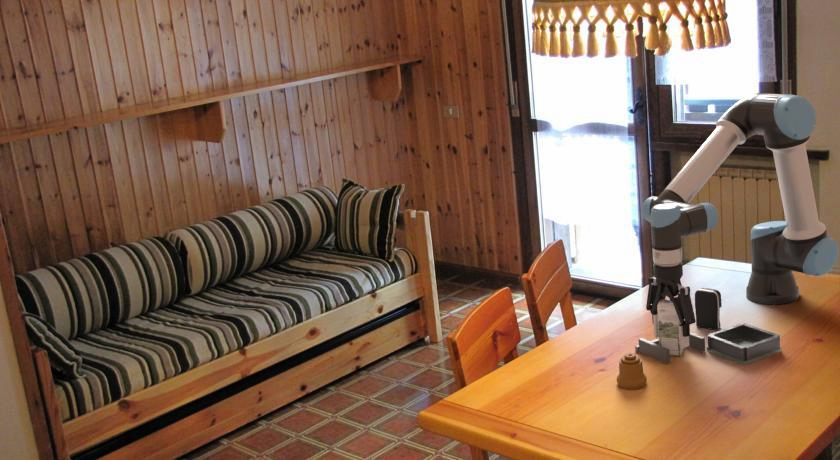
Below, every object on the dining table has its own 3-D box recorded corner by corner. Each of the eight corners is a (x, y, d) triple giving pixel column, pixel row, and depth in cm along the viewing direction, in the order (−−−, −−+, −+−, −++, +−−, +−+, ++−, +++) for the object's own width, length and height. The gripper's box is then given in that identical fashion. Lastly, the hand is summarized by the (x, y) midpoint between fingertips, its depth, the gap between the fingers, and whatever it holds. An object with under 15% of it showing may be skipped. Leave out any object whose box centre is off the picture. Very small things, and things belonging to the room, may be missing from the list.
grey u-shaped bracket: (673, 338, 262) (672, 325, 261) (705, 351, 251) (704, 337, 250) (635, 351, 256) (634, 337, 255) (666, 364, 245) (665, 350, 244)
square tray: (743, 337, 256) (743, 322, 255) (781, 351, 245) (781, 335, 244) (706, 350, 251) (705, 335, 250) (743, 365, 239) (743, 349, 238)
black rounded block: (724, 326, 266) (722, 288, 263) (717, 331, 263) (716, 292, 260) (701, 322, 271) (700, 285, 268) (695, 327, 268) (693, 289, 265)
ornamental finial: (652, 381, 236) (637, 392, 231) (626, 376, 241) (611, 386, 236) (650, 352, 234) (635, 362, 229) (624, 347, 239) (609, 357, 234)
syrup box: (684, 348, 254) (682, 298, 250) (681, 357, 249) (678, 305, 245) (663, 347, 256) (660, 297, 253) (659, 355, 251) (656, 305, 248)
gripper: (629, 257, 255) (634, 334, 260) (685, 274, 235) (689, 357, 241) (651, 251, 258) (655, 327, 263) (708, 267, 238) (711, 349, 244)
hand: (671, 341), depth 252 cm, fingers open, 9 cm apart
